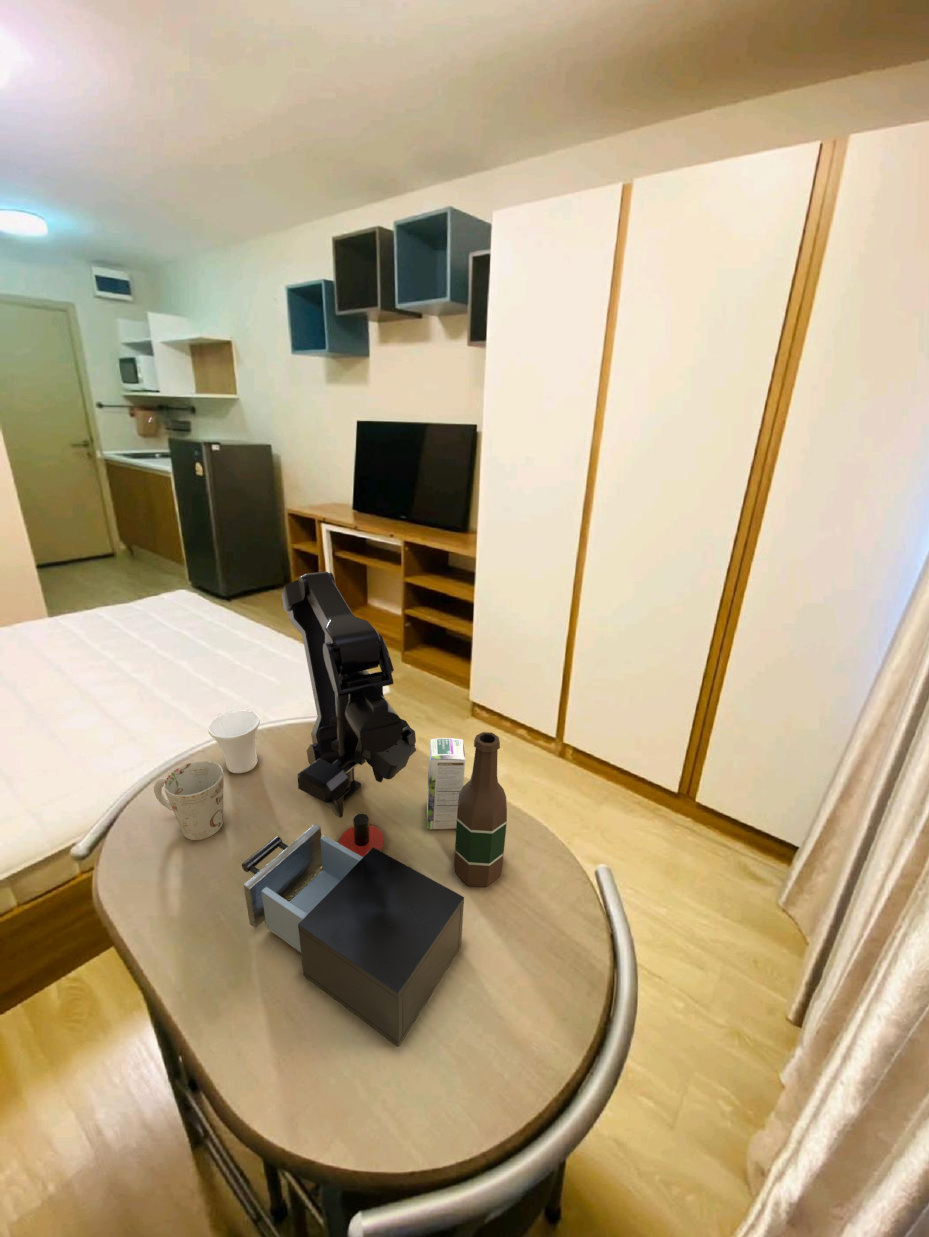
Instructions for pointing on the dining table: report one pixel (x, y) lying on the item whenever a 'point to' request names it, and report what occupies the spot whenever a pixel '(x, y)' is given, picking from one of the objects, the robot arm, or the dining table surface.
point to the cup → (237, 738)
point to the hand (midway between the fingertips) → (359, 798)
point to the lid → (362, 836)
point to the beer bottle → (481, 818)
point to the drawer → (294, 881)
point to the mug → (194, 798)
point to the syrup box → (445, 782)
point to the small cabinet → (382, 941)
